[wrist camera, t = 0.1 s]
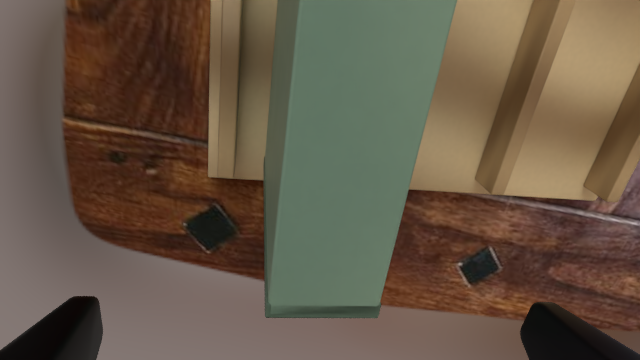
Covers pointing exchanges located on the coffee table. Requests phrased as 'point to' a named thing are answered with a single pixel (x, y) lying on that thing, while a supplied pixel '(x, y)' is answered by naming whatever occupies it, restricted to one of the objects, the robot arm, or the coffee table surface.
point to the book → (343, 146)
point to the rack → (472, 97)
